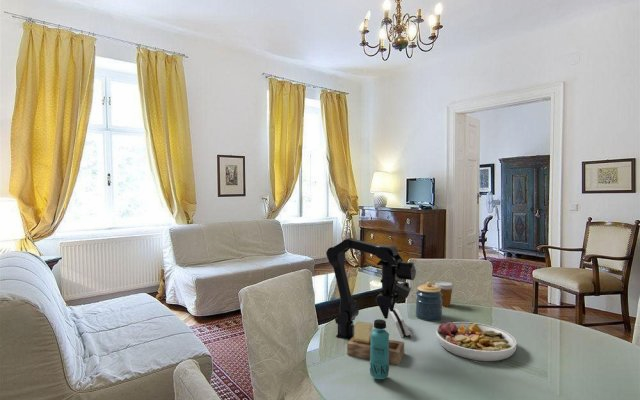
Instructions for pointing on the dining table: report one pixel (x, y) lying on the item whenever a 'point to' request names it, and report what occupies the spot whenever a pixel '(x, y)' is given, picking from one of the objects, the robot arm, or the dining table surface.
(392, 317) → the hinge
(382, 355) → the beverage bottle
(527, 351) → the dining table surface
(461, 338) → the charcuterie platter
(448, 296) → the disposable coffee cup
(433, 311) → the canister
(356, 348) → the recessed tan tray
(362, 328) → the tan block
